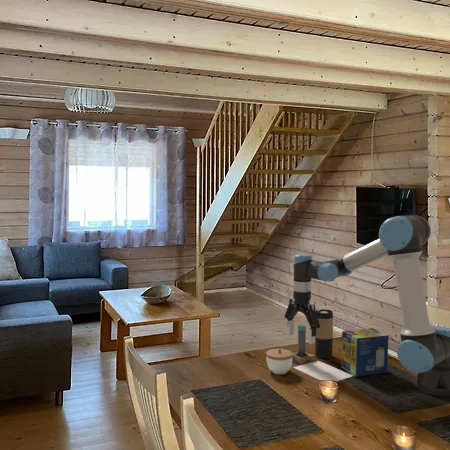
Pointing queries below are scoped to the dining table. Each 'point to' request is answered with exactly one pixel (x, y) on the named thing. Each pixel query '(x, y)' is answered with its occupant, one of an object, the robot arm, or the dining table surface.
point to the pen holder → (303, 358)
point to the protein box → (364, 352)
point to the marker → (301, 340)
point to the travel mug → (324, 334)
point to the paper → (323, 371)
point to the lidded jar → (279, 360)
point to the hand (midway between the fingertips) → (301, 339)
